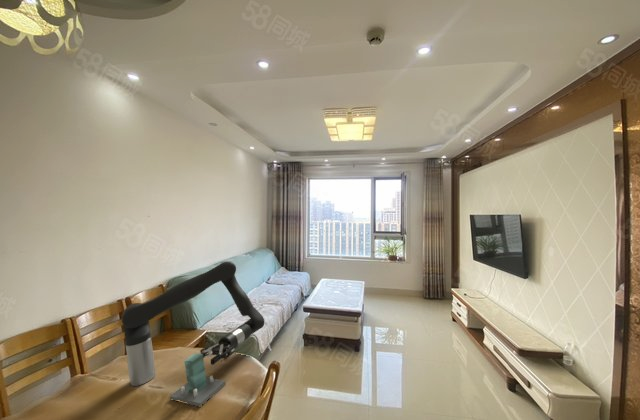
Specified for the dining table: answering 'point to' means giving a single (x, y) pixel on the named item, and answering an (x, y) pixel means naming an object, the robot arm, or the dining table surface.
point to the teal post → (195, 372)
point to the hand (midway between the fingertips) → (203, 361)
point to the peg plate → (202, 395)
